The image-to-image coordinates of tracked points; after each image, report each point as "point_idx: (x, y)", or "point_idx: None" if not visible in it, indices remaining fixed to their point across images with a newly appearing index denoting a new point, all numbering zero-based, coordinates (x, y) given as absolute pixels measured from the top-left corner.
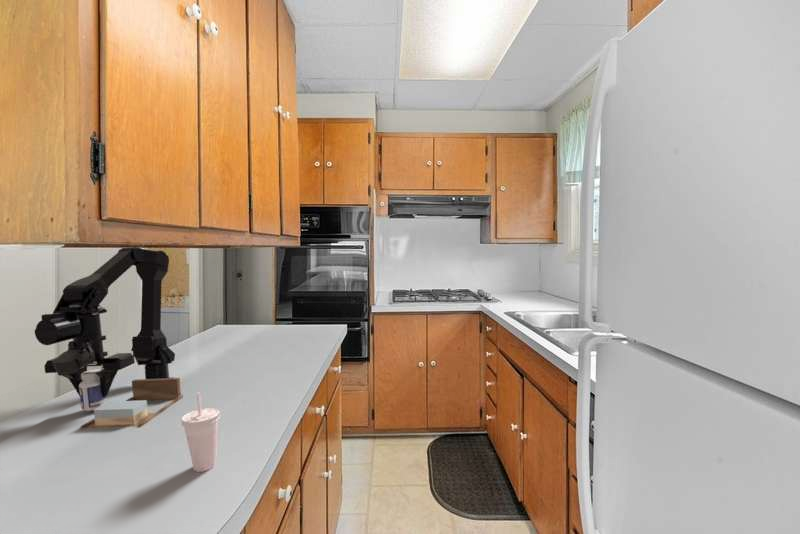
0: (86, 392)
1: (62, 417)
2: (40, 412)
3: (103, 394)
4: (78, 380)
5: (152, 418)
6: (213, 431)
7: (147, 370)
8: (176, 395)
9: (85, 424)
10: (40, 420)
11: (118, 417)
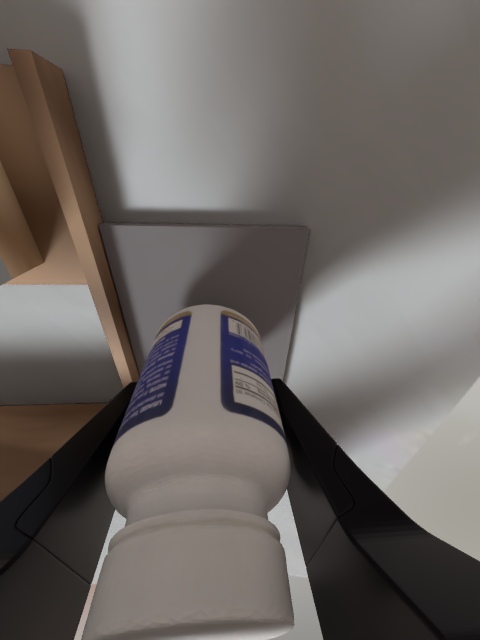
0: (183, 378)
1: (341, 308)
2: (453, 355)
3: (123, 391)
4: (315, 502)
5: None
6: None
7: None
8: None
9: (29, 93)
10: (423, 286)
11: None
